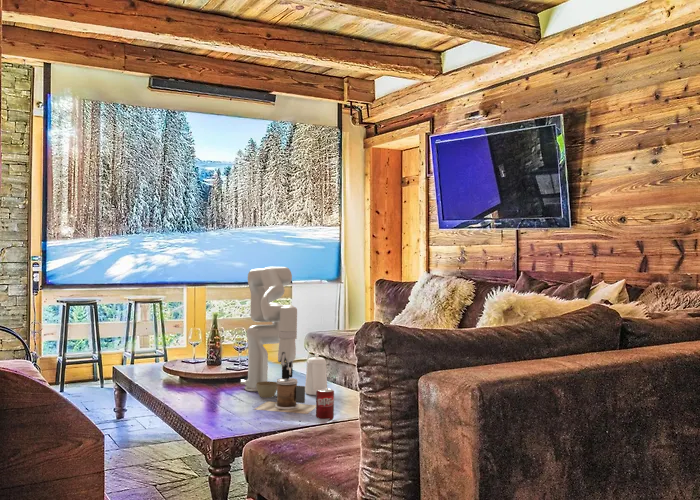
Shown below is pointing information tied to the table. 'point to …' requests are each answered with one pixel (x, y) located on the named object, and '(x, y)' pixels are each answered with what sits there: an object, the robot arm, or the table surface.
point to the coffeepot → (315, 375)
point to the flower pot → (266, 389)
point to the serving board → (301, 409)
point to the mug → (289, 396)
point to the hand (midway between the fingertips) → (287, 377)
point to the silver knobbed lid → (287, 381)
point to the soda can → (325, 404)
